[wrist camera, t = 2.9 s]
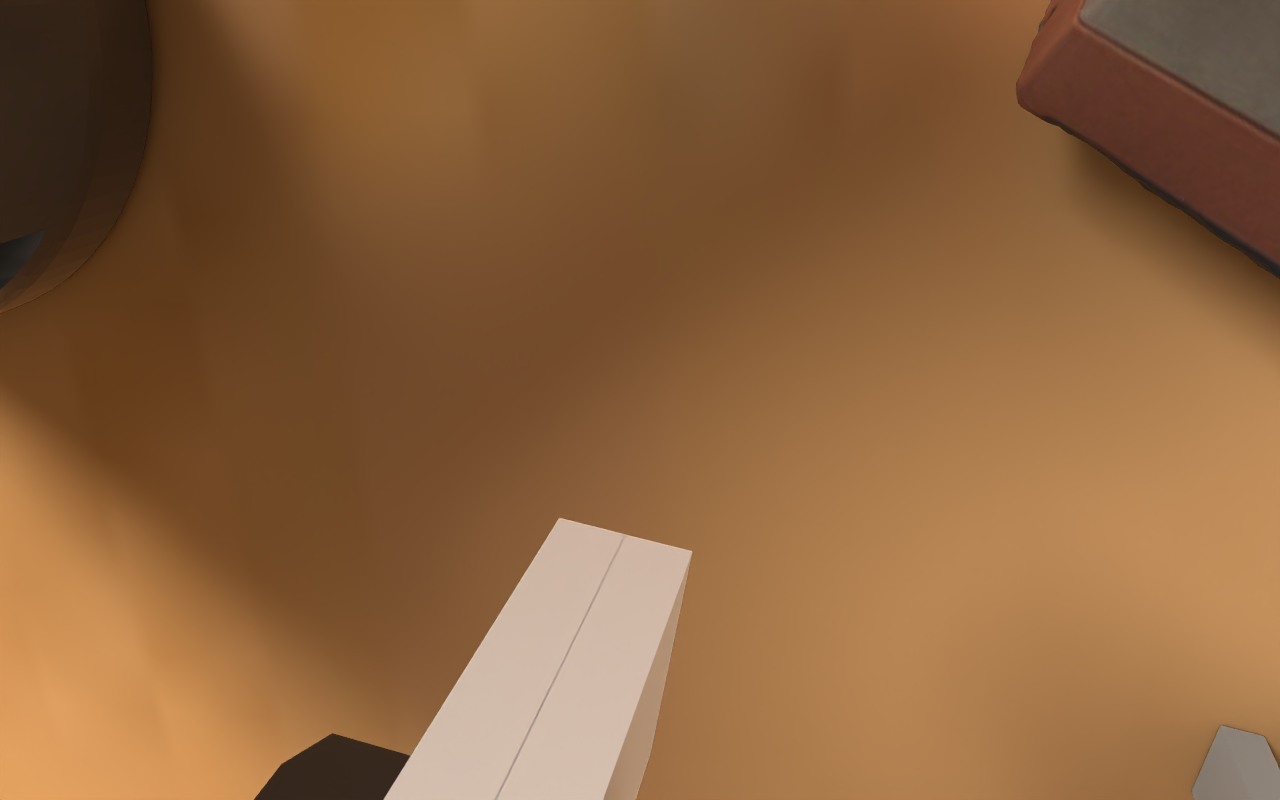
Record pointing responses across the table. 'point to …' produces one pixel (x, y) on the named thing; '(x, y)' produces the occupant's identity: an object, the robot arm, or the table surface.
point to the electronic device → (1173, 103)
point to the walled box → (1238, 768)
